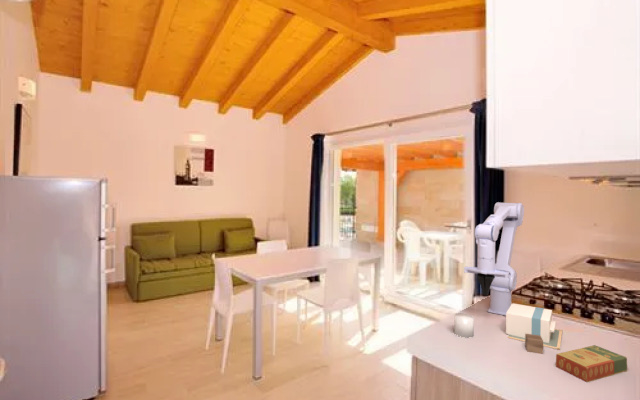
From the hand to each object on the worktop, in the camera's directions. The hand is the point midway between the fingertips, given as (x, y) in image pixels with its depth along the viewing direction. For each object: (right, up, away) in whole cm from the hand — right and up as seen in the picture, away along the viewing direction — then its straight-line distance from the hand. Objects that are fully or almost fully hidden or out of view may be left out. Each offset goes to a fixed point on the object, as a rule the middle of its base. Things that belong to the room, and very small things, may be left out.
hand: (485, 294), depth 124 cm
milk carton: (+6, -7, -4) cm, 10 cm away
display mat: (+12, -11, -9) cm, 19 cm away
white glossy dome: (-12, -11, -8) cm, 18 cm away
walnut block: (+5, -11, -20) cm, 23 cm away
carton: (+14, -12, -31) cm, 36 cm away
